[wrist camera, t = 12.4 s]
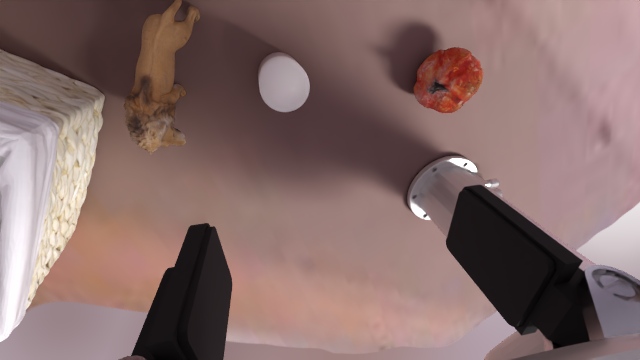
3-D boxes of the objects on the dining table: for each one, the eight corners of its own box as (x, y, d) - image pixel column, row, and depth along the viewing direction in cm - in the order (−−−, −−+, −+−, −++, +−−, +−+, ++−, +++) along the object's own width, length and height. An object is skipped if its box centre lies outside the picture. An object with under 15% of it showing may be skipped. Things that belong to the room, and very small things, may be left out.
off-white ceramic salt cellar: (298, 50, 30) (307, 57, 25) (302, 94, 33) (311, 108, 28) (254, 54, 30) (254, 62, 25) (262, 99, 32) (264, 115, 27)
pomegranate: (447, 41, 36) (418, 35, 29) (503, 59, 33) (486, 58, 26) (421, 94, 40) (391, 101, 33) (469, 115, 37) (447, 128, 30)
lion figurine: (196, 129, 33) (180, 163, 25) (146, 121, 31) (113, 155, 24) (203, -13, 26) (183, -23, 18) (139, -33, 24) (89, -53, 17)
